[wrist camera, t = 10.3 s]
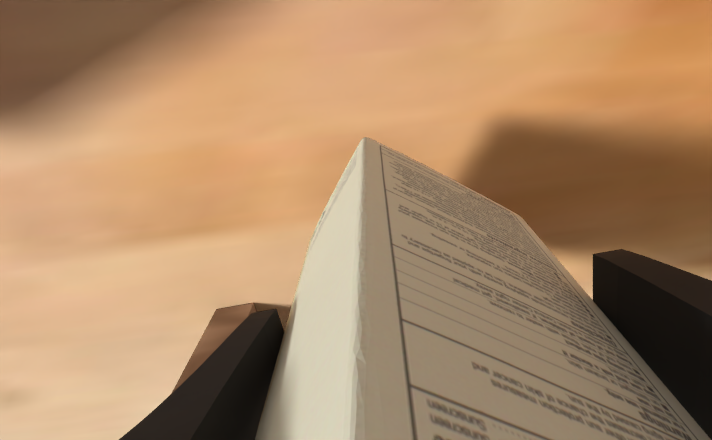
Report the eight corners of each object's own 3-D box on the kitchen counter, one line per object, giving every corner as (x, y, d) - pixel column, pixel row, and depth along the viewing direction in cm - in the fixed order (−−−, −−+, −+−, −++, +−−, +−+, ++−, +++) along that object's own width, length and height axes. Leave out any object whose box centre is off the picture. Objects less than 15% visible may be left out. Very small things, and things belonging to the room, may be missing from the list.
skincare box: (307, 240, 15) (114, 819, 4) (365, 126, 14) (311, 576, 2) (462, 312, 16) (654, 948, 5) (535, 214, 14) (1073, 838, 3)
